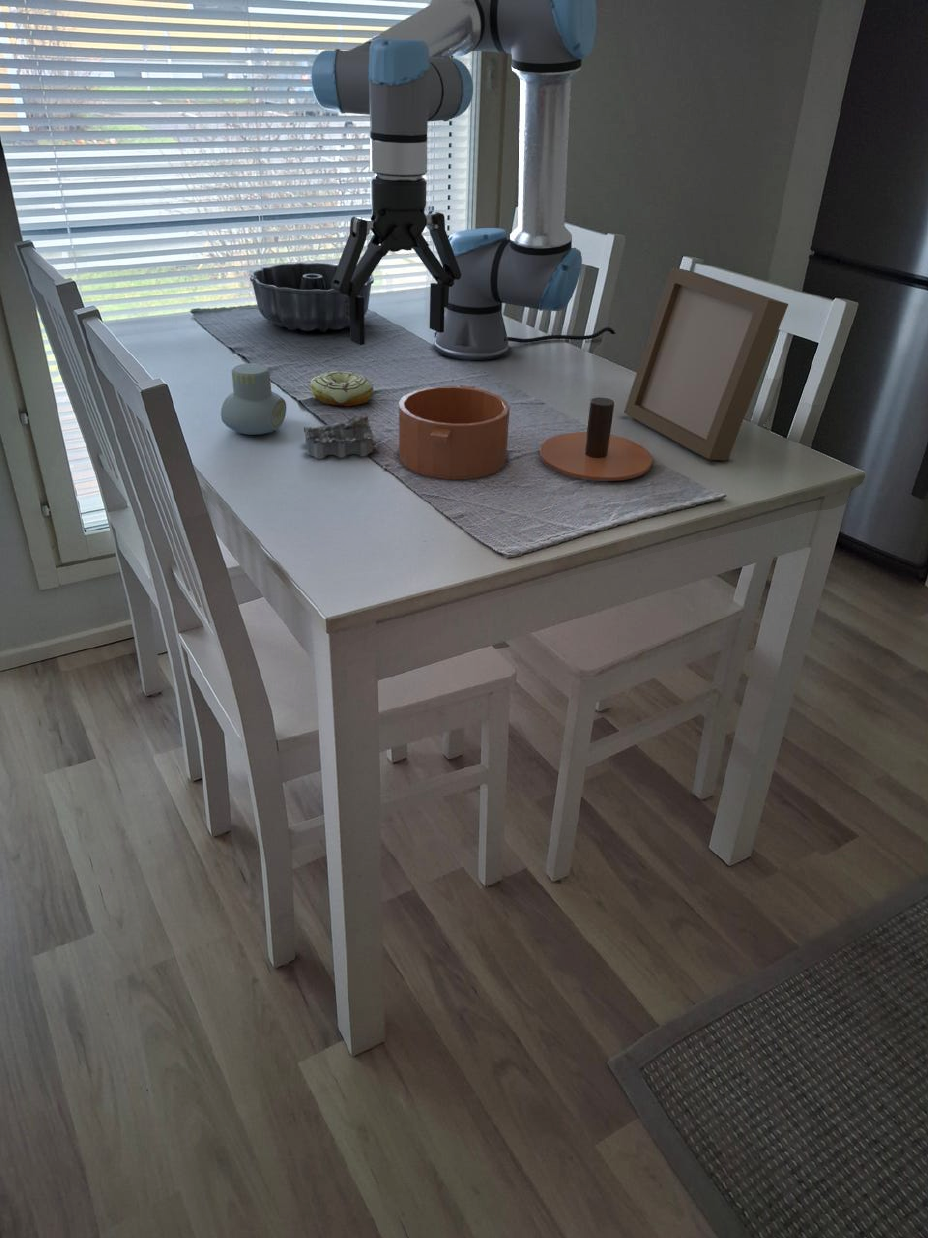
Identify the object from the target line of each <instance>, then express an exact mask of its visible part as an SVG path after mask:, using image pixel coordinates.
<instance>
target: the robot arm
mask: <svg viewBox="0 0 928 1238" xmlns="http://www.w3.org/2000/svg"><path fill="white" fill-rule="evenodd" d="M597 19H598V18H597V4H596V0H431V1H430V3H429V5H427V6H425V7H424V8H422V9H420V10H418V11H417V12H415V13H414V14H411V15H409V16H408V17H406V18H405V19H403V20H401V21H399V22H397V23H396V24H394V25H392V26H391V27H389V28H387V29H385V30H384V31H382V32H380V33H378V34H377V35H375V36H373V37H372V38H369V39H368V40H366V41H364V42H363V43H361V44H359V45H357V46H356V47H355V46H354V47H353V48H352V49H348V50H341V49H339V48H335V49H325V50H322V51H321V52H319V53H318V54H317V55H316V57H315V59H314V61H313V63H312V67H311V73H310V74H311V76H310V81H311V84H312V85H311V87H312V92H313V96H314V98H315V100H316V102H317V103H318V105H319V106H320V107H321V108H322V109H324V110H327V111H333V112H338V113H340V114H355V115H368V116H369V125H370V126H369V127H370V131H369V138H370V139H369V143H370V144H369V146H370V147H369V148H370V155H369V156H370V157H369V158H370V171H371V172H372V174H374V175H373V176H372V177H371V178H370V181H369V182H370V206H371V216H370V218H361V217H359V216H352V217H351V218H350V220H349V222H350V223H349V234H348V238H347V240H346V242H345V246H344V247H343V250H342V254H341V257H340V259H339V261H338V264H337V265H338V267H337V270H336V272H335V275H334V278H333V280H332V283H331V288H332V289H333V290H334V291H337V292H339V293H341V294H343V295H344V299H345V316H346V318H347V319H349V320H350V327H349V333H350V334H349V337H350V338H349V339H350V341H351V342H353V343H354V344H357V345H358V346H365V345H366V344H365V343H366V341H365V337H366V335H365V315H364V297H362V296H360V295H359V293H360V292H361V290H362V288H363V287H364V285H365V284H366V282H367V281H368V279H369V277H370V276H371V274H372V275H373V273H374V271H375V270H376V268H377V267H378V266H379V263H380V262H381V261H382V260H383V258H384V257H386V256H387V254H388V253H389V252H391V253H395V252H399V251H402V250H403V251H412V250H413V251H414V252H415V254H416V255H417V257H418V258H419V259H420V260H421V262H422V263H423V265H424V267H425V268H426V269H427V271H428V272H429V273H430V275H431V276H432V277H433V279H434V280H435V282H430V287H429V288H430V289H429V290H430V291H429V292H430V293H429V295H430V296H429V329H431V330H432V331H435V332H434V338H435V339H434V350H435V351H436V352H437V353H438V354H441V355H443V356H445V357H448V358H453V359H458V360H463V361H488V360H494V359H498V358H501V357H504V356H505V355H507V354H508V352H509V342H515V343H521V344H523V343H524V344H525V343H537V342H541V341H547V340H576V341H577V340H579V341H581V340H583V341H584V340H585V341H586V340H592V339H596V338H598V337H600V335H602V334H604V333H605V332H608V333H610V334H611V335H616V334H617V333H616V332H615V330H614V329H613V328H612V327H609V326H606V327H602V328H601V329H600V330H598V331H597V332H594V333H592V334H589V335H573V334H572V335H568V334H551V335H550V334H549V335H542V336H536V337H529V338H520V337H513V336H508V333H507V330H506V326H505V325H506V324H505V320H504V317H503V304H506V305H513V306H518V307H523V308H528V309H534V310H538V311H541V312H542V311H551V312H559V311H562V310H564V309H565V308H566V307H567V306H568V304H569V303H570V301H571V299H572V298H573V295H574V294H575V291H576V289H577V286H578V282H579V279H580V276H581V271H582V265H583V257H582V252H581V250H580V249H578V248H576V247H572V243H573V234H572V233H571V232H570V231H569V230H568V228H567V227H566V225H565V223H566V220H565V219H566V201H567V182H568V180H567V179H568V163H569V162H568V159H569V140H570V121H571V120H570V119H571V100H572V99H571V97H572V81H573V79H574V77H575V76H576V75H577V74H578V73H579V72H580V71H581V70H582V60H584V59H585V58H587V57H588V56H590V54H591V53H592V50H593V48H594V45H595V37H596V36H597V35H596V34H597V23H598V22H597V21H598V20H597ZM471 52H491V53H501V54H509V55H510V54H511V70H512V72H513V73H514V74H515V75H516V76H517V77H518V79H519V81H520V90H519V91H520V93H519V94H520V96H519V99H520V100H519V148H518V149H519V151H518V152H519V157H518V158H519V160H518V213H517V214H518V217H517V218H518V221H517V223H518V224H517V227H515V229H514V230H513V231H512V232H511V233H510V235H508V234H507V233H508V232H507V231H506V229H504V228H500V227H481V228H472V229H464V230H460V231H456V232H454V233H452V234H451V235H449V236H448V234H447V230H446V221H445V220H446V219H445V215H444V213H442V212H440V211H435V210H429V212H428V213H425V208H426V207H427V193H428V192H427V191H428V190H427V188H428V187H427V186H428V181H427V180H426V179H425V178H424V177H423V176H425V175H426V174H427V173H428V126H429V125H428V123H429V122H441V121H442V122H448V121H450V120H453V119H455V118H458V117H460V116H461V115H463V114H464V113H465V112H466V111H467V109H468V108H469V106H470V104H471V102H472V99H473V95H474V81H473V78H472V75H471V72H470V70H469V69H468V67H467V65H466V64H464V63H463V61H461V60H459V59H458V58H456V57H463V56H466V55H468V54H470V53H471ZM426 228H427V229H428V231H429V234H430V237H431V239H432V243H433V245H434V248H435V250H436V253H437V255H438V258H439V259H438V258H437V256H436V255H435V253H434V252H433V250H432V249H431V248H430V245H429V243H428V241H427V240H426V239H425V237H424V235H423V232H424V230H425V229H426ZM370 233H373V235H372V236H371V238H370V240H369V242H368V243H367V246H366V247H367V248H366V250H365V251H364V253H363V255H362V252H363V250H364V247H365V244H366V240H367V236H369V235H370ZM508 236H509V239H508ZM361 255H362V257H361ZM360 257H361V258H360Z"/></svg>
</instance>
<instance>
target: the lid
mask: <svg viewBox="0 0 928 1238" xmlns="http://www.w3.org/2000/svg"><path fill="white" fill-rule="evenodd" d="M614 408H615V401H614V400H613V399H610V398H608V397H599V396H598V397H594V398H591V399H590V403H589V410H588V411H589V412H588V419H587V427H586V431H581V432H579V431H578V432H568V433H563V434H557V435H555V436H552V437H550V438H548V439H545V441H544V442H542V444H541V445H540V448H539V458H540V459H541V460H542V462H543V463H544V464H545V465H546V466H547V467H549V468H550V469H553V470H554V471H556V472H559V473H560V474H564V475H566V476H570V477H574V478H577V479H581V480H588V481H589V480H590V481H599V482H609V481H610V482H611V481H612V482H615V481H625V480H630V479H634V478H637V477H640V476H642V475H644V474H645V473H647V472H648V471H649V470H650V469H651V467H652V463H653V457H652V453H650V451H648V449H647V448H645V447H644V446H643V445H641V444H639V443H637V442H635V441H633V440H630V439H628V438H626V437H621V436H618V435H614V434H611V432H612V431H611V430H612V424H613V423H612V422H613V417H614Z"/></svg>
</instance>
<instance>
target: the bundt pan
mask: <svg viewBox="0 0 928 1238" xmlns="http://www.w3.org/2000/svg"><path fill="white" fill-rule="evenodd" d="M337 267H338V264H333V263H326V262H325V263H323V262H309V263H308V262H295V263H278V264H273V265H270V266H262V267H259V269H256V270H253V271H251V272H250V277H249V281H250V282H251V283H252V287H253V292H254V296H255V300H256V301H255V302H256V304H257V308H258V311H259V313H260V315H261V316H262V317H263V318H264V319H265V320H267V321H268V322H270V323H272V324H274V325H276V326H279V327H282V328H287V330H289V331H296V330H298V329H299V330H301V331H304V332H312V331H314V330H318V331H320V332H322V333H325V332H326V331H328V330H329V329H330V330H334V331H336V330H337V331H338V330H342V329H345V328H346V329H347V328H350V320H349V319H347V318H346V316H345V299H344V295H343V294H341V293H339V292H337V291H334V290H333V289H332V288H331V283H332V280H333V278H334V275H335V272H336V270H337ZM374 282H375V278H374V277H373V273H372V274H371V276H370V277H369V279H368V281H367V282H366V284H365V285H364V287H363V288H362V290H361V292H360V293H359V295H360V296H362V297H364V316H366V314H367V311H368V309H369V303H370V296H371V289H372V285H373V284H374Z"/></svg>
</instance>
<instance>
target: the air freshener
mask: <svg viewBox="0 0 928 1238" xmlns="http://www.w3.org/2000/svg"><path fill="white" fill-rule="evenodd" d="M270 372H271V371H270V368H269V367H268V366H266V365H265V364H261V363H255V362H254V363H250V362H248V363H241V364H238V365H235V366H234V367H233V368H232V369H231V380H232V389H233V390H232V391H233V392H231V393H230V394H229V395H227V396H226V398H225V399H224V400H223V403H222V406H221V409H220V410H221V411H220V419H221V421H222V423H223V424H224V425H225V426H226V427H227V428H229V429H230V430H232V431H234V432H236V433H239V434H242V435H248V436H261V435H266V434H271V433H273V432H274V431H276V430H278V429H279V428H280V427H282V425H283V423H284V421H285V419H286V415H287V402H286V400H285V399H284V397H282V396H281V395H280V394H278V393H276V392H274V391H273V390H272V384H271V383H272V382H271V373H270Z"/></svg>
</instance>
